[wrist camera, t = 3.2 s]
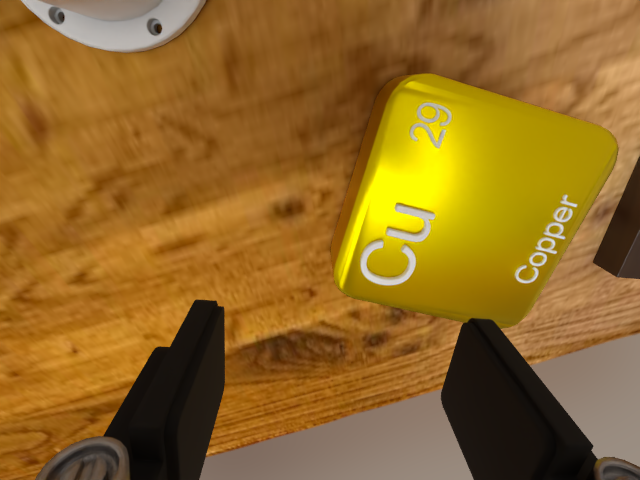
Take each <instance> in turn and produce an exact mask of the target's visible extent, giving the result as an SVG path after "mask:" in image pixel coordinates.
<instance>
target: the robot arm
mask: <svg viewBox="0 0 640 480" xmlns="http://www.w3.org/2000/svg"><path fill="white" fill-rule="evenodd" d="M21 1H22V2H23V3H24V4H25V5H26V6H27V8H28V9H30V10H31V11H32V12H33V13H34V14H35V15H37V16H38V17H39V18H40V19H41V20H42V21H44V22H45V23H46V24H47V25H48V26H50V27H52V28H53V29H55V30H57V31H58V32H60V33H61V34H63V35H65V36H66V37H68V38H70V39H72V40H75V41H77V42H80V43H82V44H84V45H87V46H89V47H93V48H98V49H102V50H106V51H115V52H124V53H130V52H140V51H147V50H150V49H153V48H156V47H159V46H162V45H164V44H166V43H168V42H169V41H171V40H172V39H174V38H176V37H177V36H179V35H180V34H181V33H182V32H183V31H184V30H185V29H186V28H187V27H188V26H189V25H190V24H191V23H192V22H193V21H194V20H195V18H196V17H197V15H198V13H199V12H200V10H201V9H202V7H203V6H204V4H205V2H206V0H21ZM63 15H64V16H65V19H64V20H63ZM160 24H161V26H162V32H161V33H158V32H157V30H156V28H157V26H158V25H160ZM224 383H225V343H224V307H220V306H218V304H217V301H210V300H195V301H194V303H193V305H192V307H191V308H190V310H189V312H188V314H187V316H186V318H185V320H184V322H183V324H182V325H181V327H180V329H179V331H178V333H177V335H176V337H175V339H174V340H173V342H172V344H171V346H170V347H157V348H155V350H154V351H153V352H152V354H151V356H150V357H149V359H148V361H147V362H146V364H145V366H144V367H143V369H142V371H141V373H140V374H139V376H138V378H137V379H136V381H135V383H134V384H133V386H132V388H131V390H130V391H129V393H128V395H127V396H126V398H125V400H124V402H123V403H122V405H121V407H120V408H119V410H118V412H117V413H116V415H115V417H114V419H113V420H112V422H111V424H110V425H109V427H108V429H107V430H106V432H105V434H104V436H98V437H92V438H87V439H84V440H81V441H79V442H76V443H74V444H71V445H70V446H68V447H67V448H65V449H63V450H62V451H60V452H59V453H57V454H56V455H55V456H54V457H53V458H52V459H51V460H50V461H48V462H47V463H46V464H45V466H44V467H43V468H42V470H41V471H40V473H39V474H38V475H37V477H36V479H35V480H199V478H200V475H201V471H202V467H203V464H204V460H205V457H206V453H207V449H208V446H209V442H210V439H211V435H212V431H213V428H214V424H215V421H216V417H217V413H218V410H219V406H220V403H221V399H222V395H223V391H224ZM441 401H442V405H443V408H444V410H445V412H446V415H447V417H448V420H449V422H450V424H451V426H452V429H453V431H454V434H455V436H456V438H457V441H458V443H459V446H460V448H461V450H462V453H463V455H464V457H465V459H466V462H467V464H468V467H469V469H470V471H471V474H472V476H473V479H474V480H640V467H638V466H636V465H634V464H632V463H630V462H627V461H625V460H622V459H618V458H615V457H603V458H601V459H597V458H596V456H595V455H594V454H593V453H592V451H591V450H592V448H593V445H592V444H591V442H590V441H589V440H588V439H587V437H586V436H585V435H584V434H583V432H582V431H581V430H580V429H579V427H578V426H577V425H576V424H575V422H574V421H573V420H572V418H571V417H570V416H569V415H568V413H567V412H566V411H565V410H564V408H563V407H562V406H561V405H560V403H559V402H558V401H557V400H556V398H555V397H554V396H553V395H552V393H551V392H550V391H549V390H548V388H547V387H546V386H545V385H544V383H543V382H542V381H541V380H540V378H539V377H538V376H537V375H536V373H535V372H534V371H533V369H532V368H531V367H530V366H529V364H528V363H527V362H526V361H525V359H524V358H523V357H522V356H521V354H520V353H519V352H518V351H517V349H516V348H515V347H514V346H513V344H512V343H511V342H510V341H509V339H508V338H507V337H506V336H505V334H504V333H503V332H502V331H501V329H500V328H499V327H498V326H497V324H496V323H495V322H494V321H493V320H491V319H479V318H471V319H469V321H468V322H467V323H463V325H462V327H461V330H460V333H459V336H458V340H457V343H456V346H455V349H454V353H453V356H452V359H451V362H450V366H449V369H448V372H447V375H446V379H445V382H444V385H443V389H442V392H441Z"/></svg>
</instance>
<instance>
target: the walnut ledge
mask: <svg viewBox="0 0 640 480" xmlns="http://www.w3.org/2000/svg"><path fill="white" fill-rule="evenodd" d="M593 263H595V264H596V265H598V266H600V267H601V268H603V269H604V270H606V271H608V272H609V273H611V274H613V275H614V276H616V277H622V278H634V279H640V158H639V160H638V162H637V165H636V167H635V169H634V172H633V174H632V176H631V178H630V181H629V183H628V185H627V187H626V190H625V192H624V194H623V196H622V199H621V201H620V203H619V205H618V208H617V210H616V212H615V214H614V217H613V219H612V221H611V223H610V226H609V228H608V230H607V232H606V235H605V237H604V239H603V241H602V244H601V246H600V248H599V251H598V253H597V255H596V257H595V260H594V262H593Z"/></svg>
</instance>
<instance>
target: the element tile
mask: <svg viewBox="0 0 640 480" xmlns="http://www.w3.org/2000/svg"><path fill="white" fill-rule="evenodd" d="M617 155H618V144H617V140H616V138H615V137H614V136H613V135H612V133H611V132H610V131H609V130H607V129H605V128H603V127H602V126H599V125H596V124H593V123H590V122H587V121H583V120H580V119H577V118H574V117H571V116H567V115H564V114H561V113H558V112H555V111H551V110H548V109H545V108H542V107H538V106H535V105H532V104H529V103H526V102H522V101H519V100H516V99H513V98H510V97H506V96H503V95H500V94H497V93H494V92H490V91H487V90H484V89H481V88H478V87H474V86H471V85H468V84H465V83H462V82H458V81H455V80H452V79H449V78H445V77H442V76H439V75H436V74H433V73H420V74H413V75H406V76H399V77H396V78H394V79H392V80H391V81H389V82H387V83H386V84H385V86H384V87H383V88H382V89H381V91H380V92H379V94H378V96H377V98H376V100H375V103H374V106H373V109H372V112H371V116H370V119H369V122H368V125H367V129H366V132H365V135H364V138H363V142H362V145H361V148H360V151H359V155H358V158H357V161H356V165H355V168H354V171H353V174H352V178H351V181H350V184H349V187H348V191H347V194H346V197H345V200H344V204H343V207H342V210H341V213H340V217H339V220H338V223H337V227H336V230H335V233H334V236H333V240H332V243H331V249H330V254H331V261H332V269H333V276H334V282H335V284H336V286H337V287H338V289H339V290H340V291H341V292H343V293H344V294H346V295H347V296H349V297H351V298H354V299H358V300H363V301H368V302H372V303H377V304H381V305H386V306H391V307H395V308H400V309H404V310H409V311H413V312H418V313H423V314H427V315H432V316H436V317H441V318H446V319H450V320H455V321H459V322H464V323H467V322H468V321H469V319H471V318H479V319H491V320H493V321H494V322H495V323H496V324H497V326H498V327H499V328H500V329H502V328H509V327H512V326H514V325H516V324H518V323H519V322H520V321H521V320H523V319H524V318H525V317H526V316H527V314H528V313H529V312H530V311H531V309H532V307H533V306H534V304H535V302H536V300H537V299H538V297H539V295H540V294H541V292H542V290H543V289H544V287H545V285H546V283H547V282H548V280H549V278H550V277H551V275H552V273H553V271H554V270H555V268H556V266H557V265H558V263H559V261H560V259H561V258H562V256H563V254H564V253H565V251H566V249H567V247H568V246H569V244H570V242H571V241H572V239H573V237H574V235H575V234H576V232H577V230H578V229H579V227H580V225H581V223H582V222H583V220H584V218H585V217H586V215H587V213H588V211H589V210H590V208H591V206H592V205H593V203H594V201H595V199H596V198H597V196H598V194H599V193H600V191H601V189H602V187H603V186H604V184H605V182H606V181H607V179H608V177H609V175H610V174H611V172H612V170H613V168H614V165H615V163H616V160H617Z"/></svg>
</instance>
